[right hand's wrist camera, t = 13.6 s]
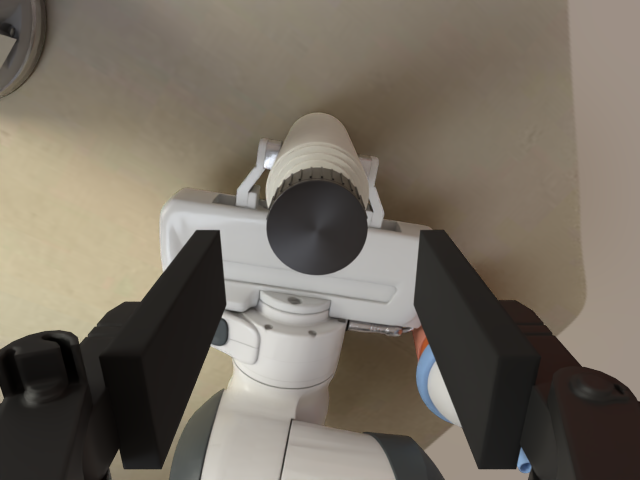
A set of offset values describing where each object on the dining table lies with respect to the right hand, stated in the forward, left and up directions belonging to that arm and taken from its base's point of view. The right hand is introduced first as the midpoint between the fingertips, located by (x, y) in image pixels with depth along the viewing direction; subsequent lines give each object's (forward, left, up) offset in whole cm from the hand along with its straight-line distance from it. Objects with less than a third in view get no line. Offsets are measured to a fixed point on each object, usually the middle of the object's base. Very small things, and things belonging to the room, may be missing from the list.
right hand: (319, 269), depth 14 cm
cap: (0, 0, -4) cm, 4 cm away
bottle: (0, 0, -23) cm, 23 cm away
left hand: (0, +1, -17) cm, 17 cm away
